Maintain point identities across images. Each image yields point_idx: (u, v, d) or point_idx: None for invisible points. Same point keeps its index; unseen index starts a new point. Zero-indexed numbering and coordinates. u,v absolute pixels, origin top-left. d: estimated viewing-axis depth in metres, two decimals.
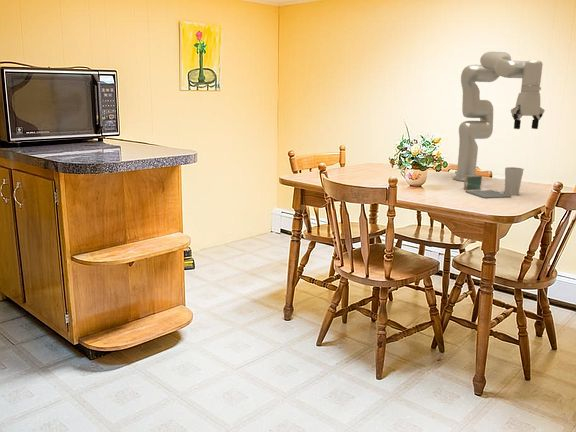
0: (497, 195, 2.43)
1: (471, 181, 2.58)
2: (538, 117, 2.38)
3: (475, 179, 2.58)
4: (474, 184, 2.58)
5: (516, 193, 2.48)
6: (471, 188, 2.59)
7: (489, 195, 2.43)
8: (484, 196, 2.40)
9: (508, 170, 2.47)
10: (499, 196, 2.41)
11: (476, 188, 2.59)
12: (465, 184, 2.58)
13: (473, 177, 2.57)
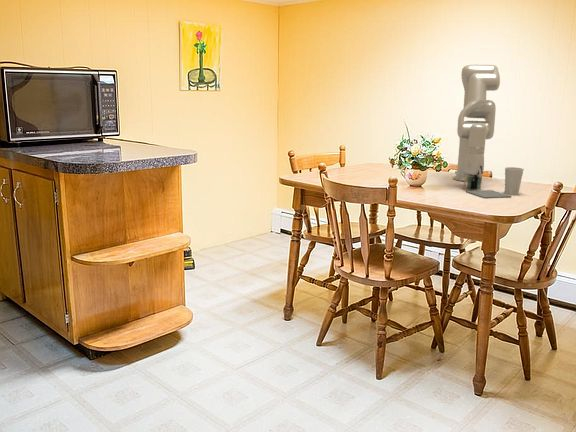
0: (497, 195, 2.43)
1: None
2: None
3: None
4: None
5: (516, 193, 2.48)
6: None
7: (489, 195, 2.43)
8: (484, 196, 2.40)
9: (508, 170, 2.47)
10: (499, 196, 2.41)
11: None
12: (465, 184, 2.58)
13: None
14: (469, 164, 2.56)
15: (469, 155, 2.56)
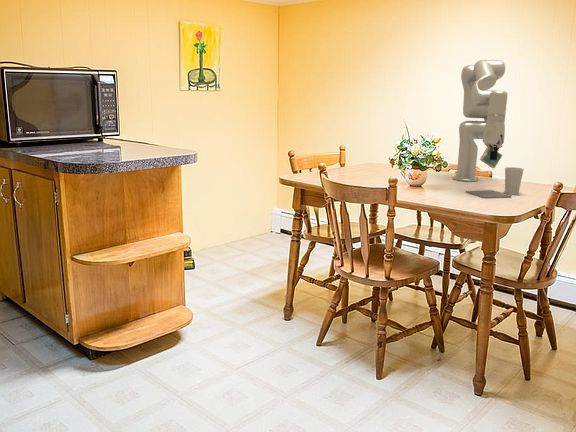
0: (497, 195, 2.43)
1: None
2: None
3: None
4: None
5: (516, 193, 2.48)
6: (487, 161, 2.42)
7: (489, 195, 2.43)
8: (484, 196, 2.40)
9: (508, 170, 2.47)
10: (499, 196, 2.41)
11: (491, 164, 2.43)
12: (483, 154, 2.42)
13: None
14: (488, 133, 2.41)
15: (488, 124, 2.40)
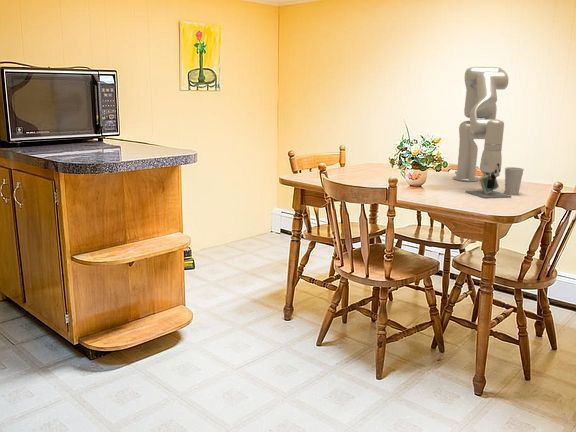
0: (497, 195, 2.43)
1: None
2: None
3: None
4: None
5: (516, 193, 2.48)
6: (484, 183, 2.45)
7: (489, 195, 2.43)
8: (484, 196, 2.40)
9: (508, 170, 2.47)
10: (499, 196, 2.41)
11: (486, 188, 2.45)
12: (484, 175, 2.45)
13: None
14: (485, 162, 2.43)
15: (485, 152, 2.43)
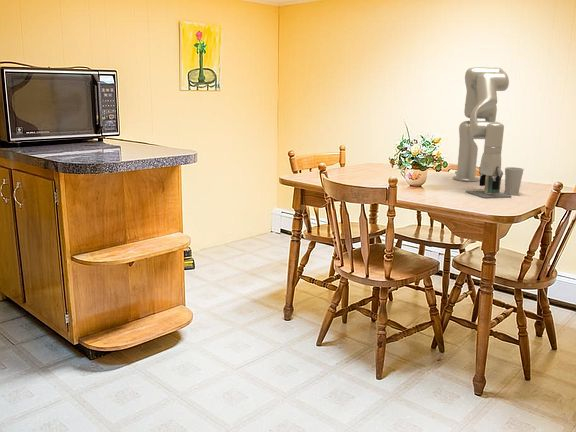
0: (497, 195, 2.43)
1: None
2: None
3: None
4: None
5: (516, 193, 2.48)
6: (489, 183, 2.45)
7: (489, 195, 2.43)
8: (484, 196, 2.40)
9: (508, 170, 2.47)
10: (499, 196, 2.41)
11: (488, 189, 2.46)
12: None
13: (499, 183, 2.46)
14: (485, 165, 2.44)
15: (485, 155, 2.44)
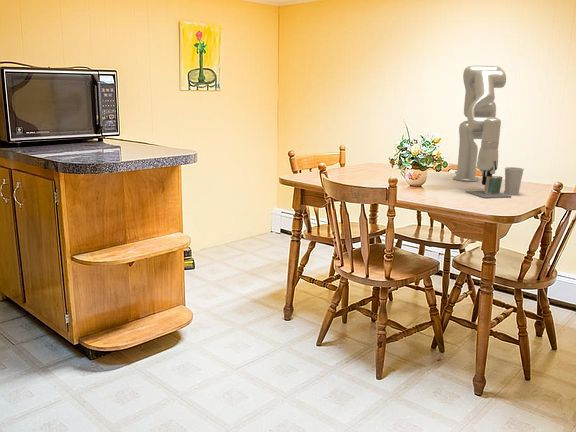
0: (497, 195, 2.43)
1: (496, 182, 2.45)
2: None
3: (497, 186, 2.46)
4: (493, 185, 2.45)
5: (516, 193, 2.48)
6: (489, 183, 2.45)
7: (489, 195, 2.43)
8: (484, 196, 2.40)
9: (508, 170, 2.47)
10: (499, 196, 2.41)
11: (488, 189, 2.45)
12: (493, 176, 2.45)
13: (499, 184, 2.46)
14: (482, 159, 2.46)
15: (482, 150, 2.46)
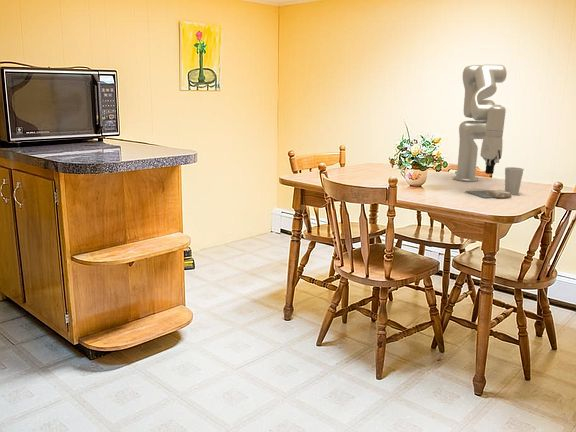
0: None
1: None
2: None
3: None
4: None
5: (516, 193, 2.48)
6: None
7: (489, 195, 2.43)
8: (484, 196, 2.40)
9: (508, 170, 2.47)
10: None
11: None
12: (502, 195, 2.39)
13: None
14: (486, 148, 2.43)
15: (486, 138, 2.43)
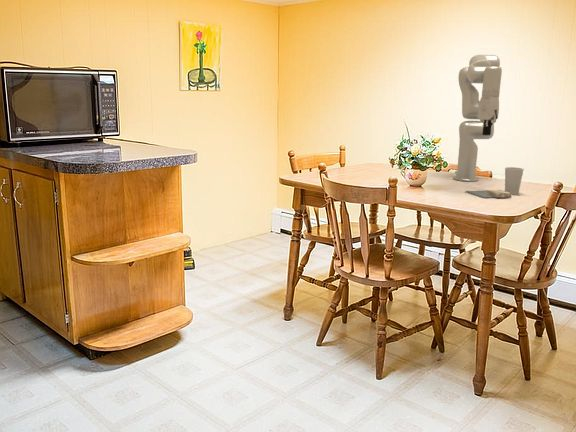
0: None
1: None
2: None
3: None
4: None
5: (516, 193, 2.48)
6: None
7: (489, 195, 2.43)
8: (484, 196, 2.40)
9: (508, 170, 2.47)
10: None
11: None
12: (502, 195, 2.39)
13: None
14: (483, 109, 2.44)
15: (483, 99, 2.44)
